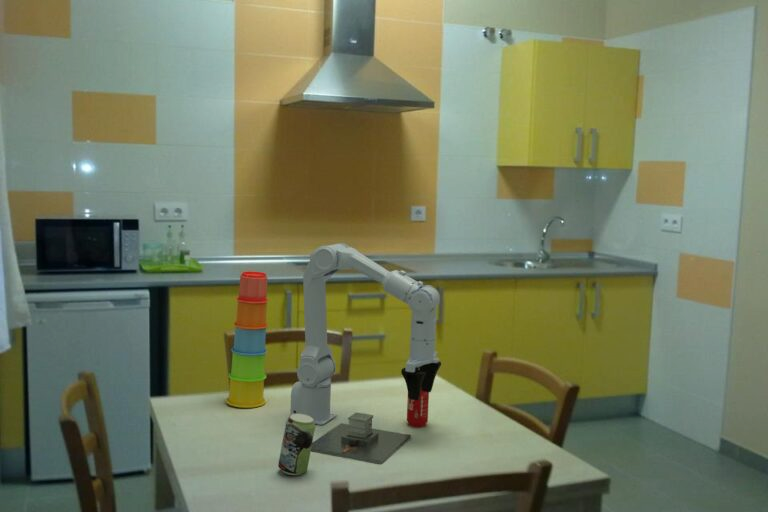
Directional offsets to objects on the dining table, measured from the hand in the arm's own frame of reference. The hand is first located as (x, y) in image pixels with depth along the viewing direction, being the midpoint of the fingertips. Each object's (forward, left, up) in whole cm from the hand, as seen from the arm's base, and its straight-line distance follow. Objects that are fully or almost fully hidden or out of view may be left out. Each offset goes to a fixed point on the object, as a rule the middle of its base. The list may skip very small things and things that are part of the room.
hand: (420, 395), depth 184 cm
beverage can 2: (-3, +8, -10) cm, 14 cm away
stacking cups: (-49, +3, -10) cm, 50 cm away
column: (-10, -11, -10) cm, 18 cm away
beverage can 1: (-15, -32, -10) cm, 37 cm away
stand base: (-10, -11, -10) cm, 18 cm away
